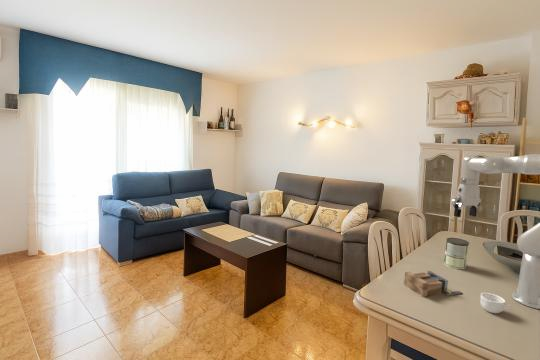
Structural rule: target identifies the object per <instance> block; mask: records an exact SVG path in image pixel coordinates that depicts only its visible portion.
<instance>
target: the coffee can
mask: <svg viewBox="0 0 540 360" xmlns="http://www.w3.org/2000/svg"><path fill="white" fill-rule="evenodd" d="M469 245H470V242H469V241H467V240H465V239H463V238H458V237H447V238H446V242H445V252H444V261H443V264H444V265H445V266H446V267H448V268H452V269H456V270H466V267H467V259H468V253H469Z"/></svg>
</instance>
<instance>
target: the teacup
mask: <svg viewBox="0 0 540 360" xmlns="http://www.w3.org/2000/svg"><path fill="white" fill-rule="evenodd" d="M479 303H480V306H481V307H482V308H483V309H484V310H485V311H486V312H488V313H491V314H499V313H501V312H509V311H512V309H513V308H512V305H510V304H509V303H506V300H505V298H504V297H502V296H500V295H497V294H493V293H492V292H490V293H489V292H481V293H480V302H479ZM507 306H509V309H507V308H505V307H507Z"/></svg>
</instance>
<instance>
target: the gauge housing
mask: <svg viewBox="0 0 540 360" xmlns="http://www.w3.org/2000/svg"><path fill="white" fill-rule="evenodd" d="M424 278H430V276H429V275H428V274H427V273H426V272H417V273H412V272H411V271H405V272H404V279H403V280H404V282H403V285H404V284H405V286H406V287H407V286H408V287H407V288H409V289H411V290H412V291H413V292H415V293H416V294H417V293H418V294H417V295H419V296H420V295H421V296H420V297H421V298H423V297H427V296H433V295H440V294H442V290H441V289H442V282H440V281H438V280H436V279H433V280H425V281H424V280H423V279H424ZM450 292H451V293H448V292H446V291H445V292H443V294H444V296H447V297H449V296H450V297H451V296H459V295H463V292H461V290H455V291H450Z"/></svg>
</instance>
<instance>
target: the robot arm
mask: <svg viewBox="0 0 540 360" xmlns="http://www.w3.org/2000/svg"><path fill="white" fill-rule="evenodd" d="M460 170H461V171H460V179H459V185H458V187H457V191H456V195H455V197H454V198H453V199H452V200H451V203H452V206H453V208H454V211H453V212H454V213H453V216H454V217H457V218H461V216H462V209H461V208H462V207H463V206H465V207H469V206H470V208H469V216H472V217H476V216H477V211H478V209H479V206H480V205H481V202H482V199H481V198H480V193H481V192H480V191H481V190H480V185H479V181H480V174H486V175H490V174H523V175H537V176H539V175H540V153H533V154H531V153H530V154H524V155H517V156H503V157H502V156H501V157H500V156H499V157H498V156H497V157H494V156H492V157H491V156H490V157H489V156H488V157H479V156H464V157H463V158H462V163H461V169H460ZM516 240H517V241H516V246H517V247H518V250H519V251H520V252H521V253H522V258H521V263H520V268H519V269H520V270H519V276H518V283H517V289H516V291H513V292H511V298H512V299H513V300H514V301H516V302H517V303H519V304H522V305H523V306H527V307H528V308H533V309H537V310H540V222H538V223H537V224H535V225H534V226H532V227H530V228H528V230H527V229H526V231H524V232H523V233H521V234H520V235H519V236H518V238H517V239H516Z"/></svg>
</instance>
